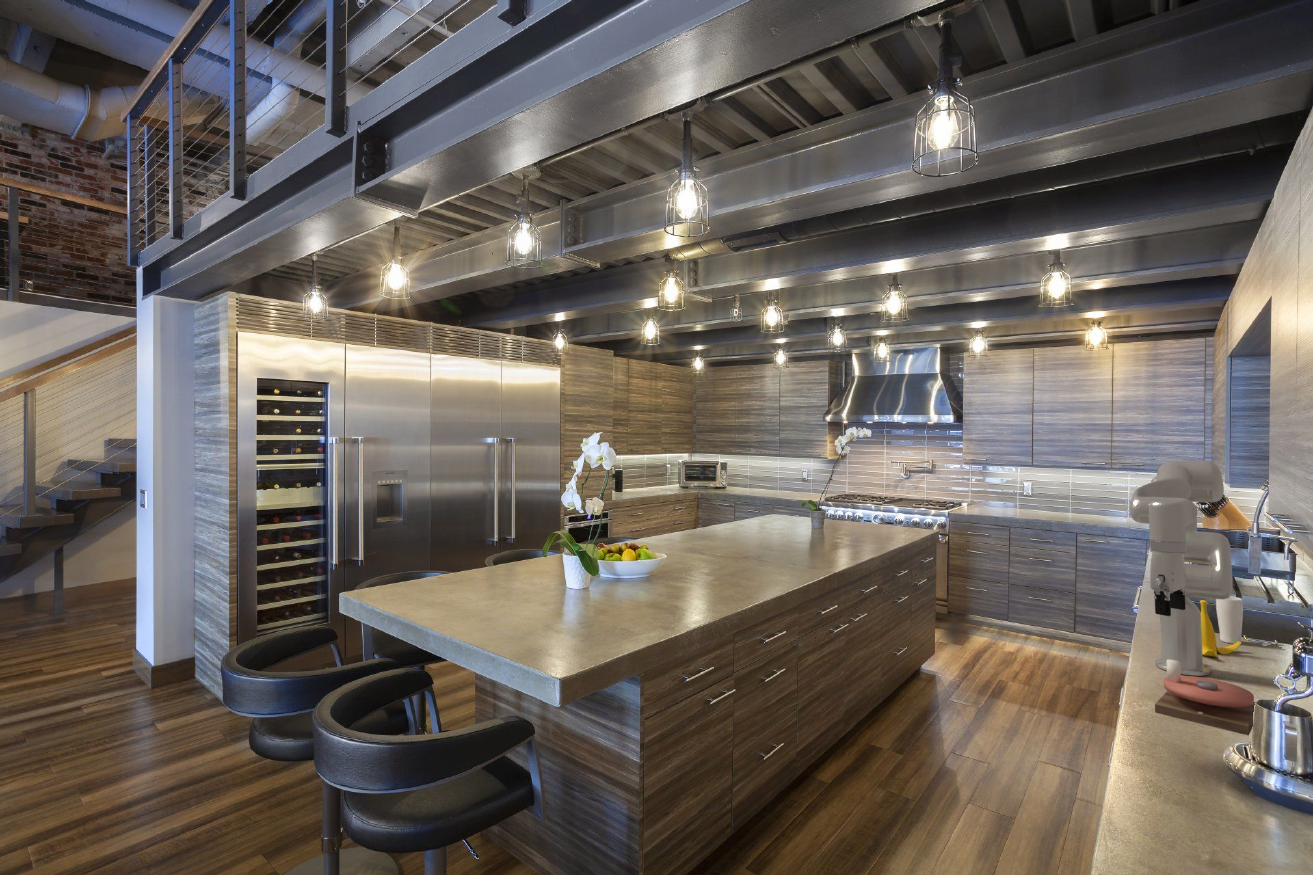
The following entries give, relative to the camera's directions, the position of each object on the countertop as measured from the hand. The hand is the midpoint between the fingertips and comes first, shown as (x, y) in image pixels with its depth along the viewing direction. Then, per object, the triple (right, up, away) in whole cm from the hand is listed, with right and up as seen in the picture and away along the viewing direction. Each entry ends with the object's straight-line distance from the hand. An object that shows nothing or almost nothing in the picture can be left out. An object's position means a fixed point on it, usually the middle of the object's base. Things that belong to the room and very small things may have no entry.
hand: (1170, 611), depth 165 cm
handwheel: (+3, -18, -8) cm, 20 cm away
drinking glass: (+59, -24, +47) cm, 80 cm away
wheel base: (+3, -23, -8) cm, 24 cm away
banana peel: (+41, -24, +36) cm, 60 cm away
